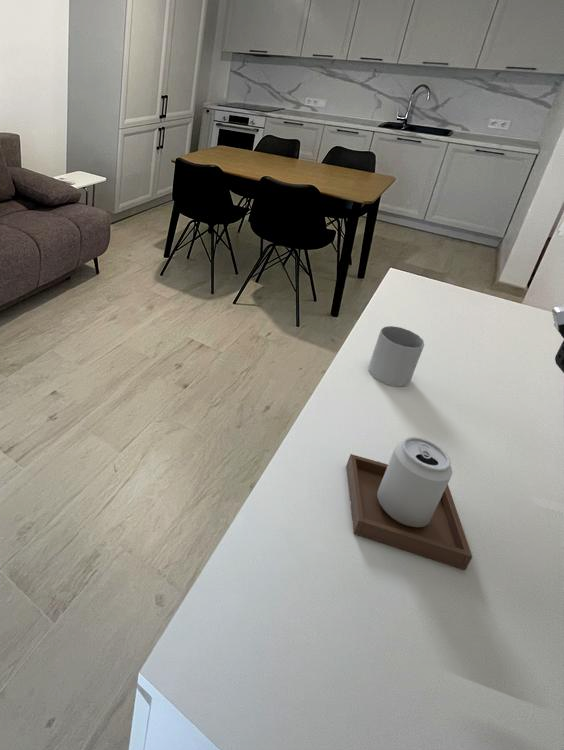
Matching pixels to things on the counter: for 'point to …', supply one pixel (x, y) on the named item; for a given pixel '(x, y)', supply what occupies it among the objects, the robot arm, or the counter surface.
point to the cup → (395, 356)
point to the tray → (373, 522)
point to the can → (414, 481)
